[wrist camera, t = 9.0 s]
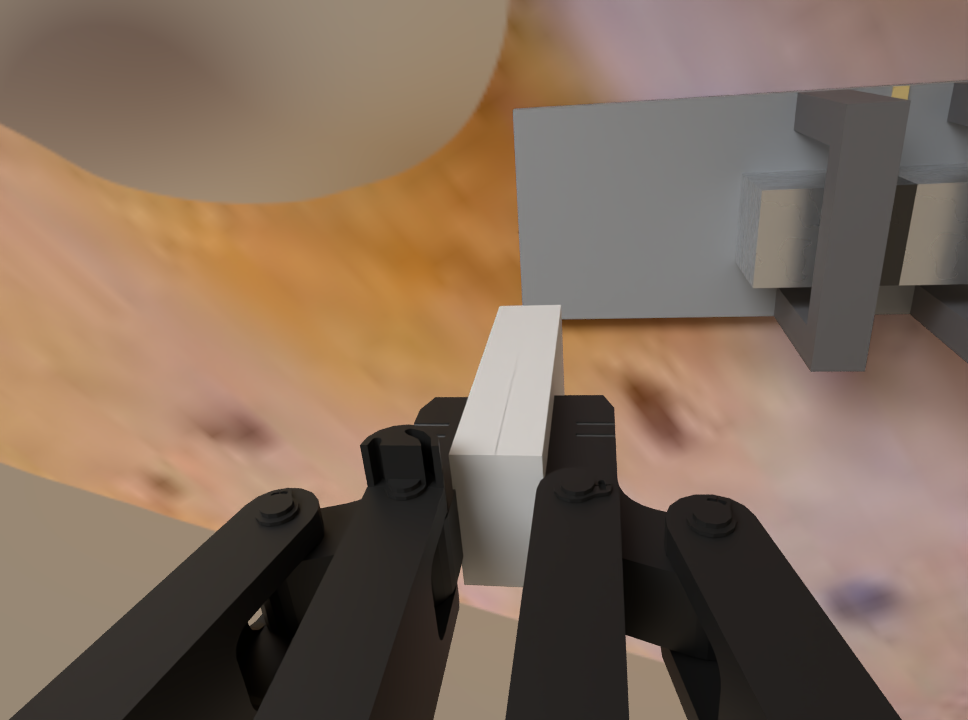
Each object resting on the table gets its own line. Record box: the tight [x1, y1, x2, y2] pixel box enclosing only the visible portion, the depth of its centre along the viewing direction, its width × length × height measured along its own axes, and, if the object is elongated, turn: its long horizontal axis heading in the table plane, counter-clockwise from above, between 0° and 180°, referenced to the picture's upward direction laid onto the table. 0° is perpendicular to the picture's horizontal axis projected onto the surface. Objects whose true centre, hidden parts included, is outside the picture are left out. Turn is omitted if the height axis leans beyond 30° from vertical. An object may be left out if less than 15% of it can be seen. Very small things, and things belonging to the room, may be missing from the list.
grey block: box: [735, 163, 968, 288], centre depth 29 cm, size 10×4×4 cm, turn 93°
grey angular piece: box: [513, 80, 968, 372], centre depth 29 cm, size 10×22×7 cm, turn 93°
